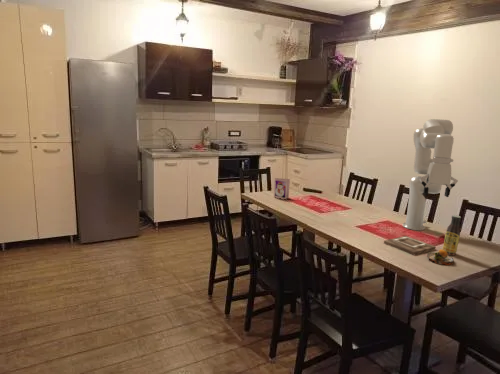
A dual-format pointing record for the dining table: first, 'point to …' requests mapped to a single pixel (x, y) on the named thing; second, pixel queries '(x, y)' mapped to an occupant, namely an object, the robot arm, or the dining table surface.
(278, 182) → the greeting card
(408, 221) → the robot arm
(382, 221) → the dining table surface
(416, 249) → the walnut board
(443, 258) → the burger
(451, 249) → the sauce bottle
